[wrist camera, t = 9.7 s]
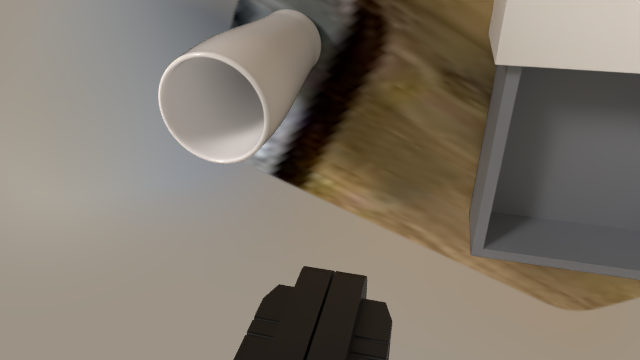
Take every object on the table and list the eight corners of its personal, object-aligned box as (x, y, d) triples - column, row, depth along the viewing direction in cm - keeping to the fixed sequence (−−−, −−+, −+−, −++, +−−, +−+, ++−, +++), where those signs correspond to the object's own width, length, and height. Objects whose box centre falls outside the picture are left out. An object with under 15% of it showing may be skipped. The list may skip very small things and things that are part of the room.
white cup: (255, -11, 37) (153, 37, 25) (338, 8, 36) (276, 67, 24) (249, 71, 41) (157, 149, 28) (324, 90, 40) (264, 178, 28)
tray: (649, 236, 39) (676, 285, 34) (469, 213, 42) (470, 255, 37) (750, 5, 30) (807, 27, 25) (509, -3, 33) (518, 15, 28)
